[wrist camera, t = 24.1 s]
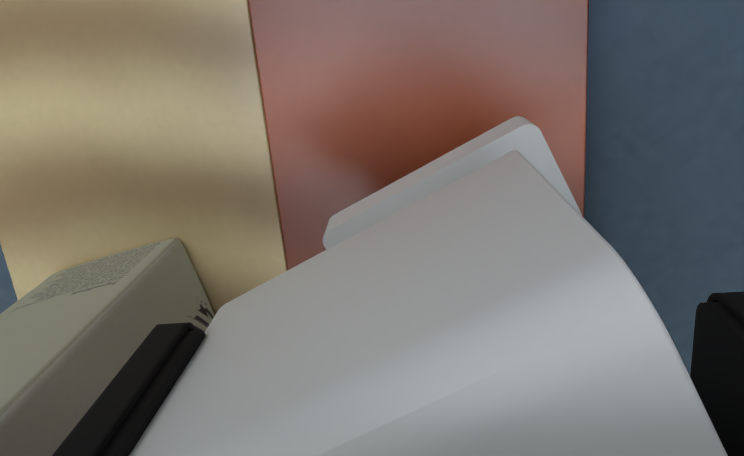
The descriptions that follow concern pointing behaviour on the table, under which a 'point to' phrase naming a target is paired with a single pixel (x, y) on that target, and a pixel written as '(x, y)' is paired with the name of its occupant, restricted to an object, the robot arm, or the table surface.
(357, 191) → the sorting board
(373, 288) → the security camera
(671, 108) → the table surface
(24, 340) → the box
